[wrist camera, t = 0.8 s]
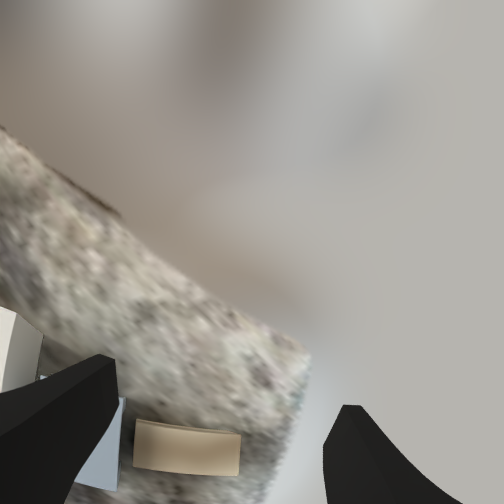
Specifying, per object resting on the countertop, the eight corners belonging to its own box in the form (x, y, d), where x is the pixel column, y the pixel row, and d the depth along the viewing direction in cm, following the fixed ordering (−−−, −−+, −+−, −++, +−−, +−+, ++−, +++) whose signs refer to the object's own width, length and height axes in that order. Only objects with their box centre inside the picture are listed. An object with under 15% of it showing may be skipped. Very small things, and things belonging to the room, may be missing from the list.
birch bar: (223, 465, 21) (238, 475, 18) (133, 456, 19) (132, 466, 16) (226, 430, 23) (241, 435, 20) (136, 418, 21) (136, 422, 18)
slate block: (120, 471, 18) (116, 492, 13) (53, 454, 16) (33, 467, 11) (126, 397, 21) (123, 398, 16) (60, 380, 19) (40, 374, 15)
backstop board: (28, 478, 14) (0, 498, 8) (13, 471, 13) (-18, 488, 7) (43, 334, 21) (16, 312, 15) (29, 329, 20) (-1, 306, 14)
